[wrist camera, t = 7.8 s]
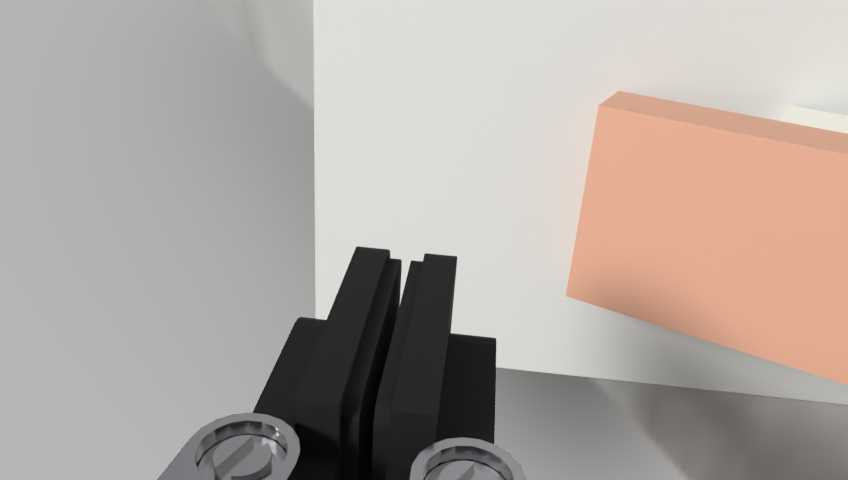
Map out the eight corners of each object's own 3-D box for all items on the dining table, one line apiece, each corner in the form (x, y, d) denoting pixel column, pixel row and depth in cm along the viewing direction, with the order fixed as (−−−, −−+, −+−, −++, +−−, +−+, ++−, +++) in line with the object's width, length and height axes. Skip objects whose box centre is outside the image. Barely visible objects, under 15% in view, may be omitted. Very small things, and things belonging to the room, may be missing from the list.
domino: (618, 90, 18) (1149, 190, 13) (585, 271, 20) (1030, 403, 16) (598, 105, 16) (1176, 219, 12) (565, 296, 19) (1044, 447, 14)
